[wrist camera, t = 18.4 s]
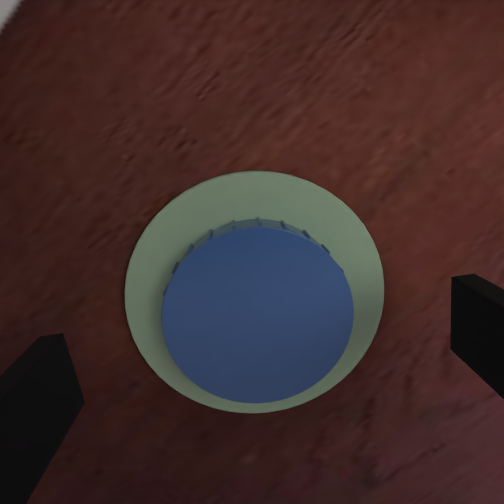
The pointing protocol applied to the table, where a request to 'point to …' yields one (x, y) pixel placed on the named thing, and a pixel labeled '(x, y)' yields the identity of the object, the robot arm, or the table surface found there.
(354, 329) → the coaster
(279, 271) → the jar lid
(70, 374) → the robot arm
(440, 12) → the table surface
